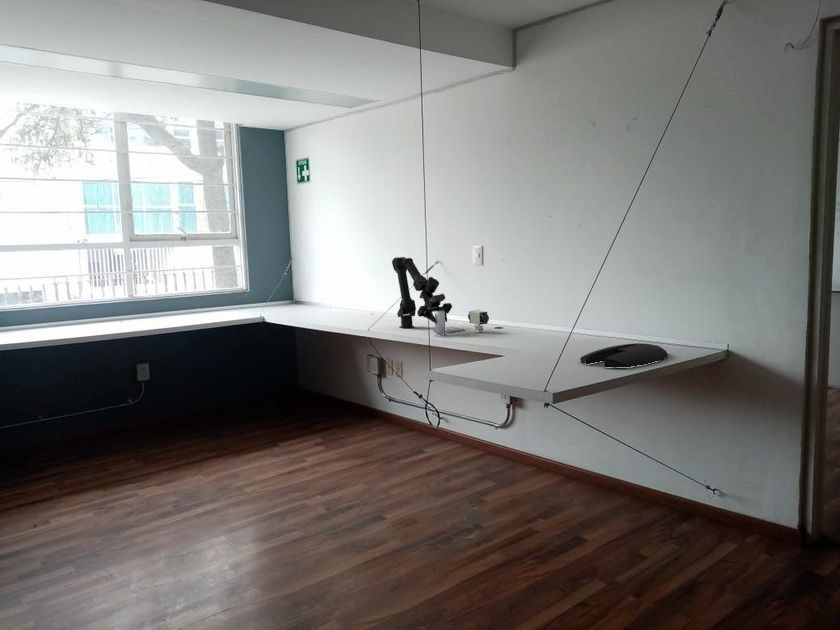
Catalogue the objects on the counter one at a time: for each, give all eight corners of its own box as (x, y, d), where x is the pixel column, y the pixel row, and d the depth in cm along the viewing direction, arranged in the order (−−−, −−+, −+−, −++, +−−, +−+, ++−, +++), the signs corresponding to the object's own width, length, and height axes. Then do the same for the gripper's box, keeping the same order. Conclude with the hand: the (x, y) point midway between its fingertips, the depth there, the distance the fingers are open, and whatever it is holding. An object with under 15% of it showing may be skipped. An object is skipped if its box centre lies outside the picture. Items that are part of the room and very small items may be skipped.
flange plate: (433, 331, 361) (433, 329, 361) (450, 328, 369) (450, 326, 369) (447, 333, 352) (447, 331, 352) (465, 330, 359) (465, 328, 359)
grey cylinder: (432, 334, 350) (431, 311, 348) (441, 333, 353) (440, 310, 352) (439, 335, 345) (438, 312, 343) (448, 334, 349) (447, 311, 347)
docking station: (683, 356, 274) (683, 344, 273) (624, 373, 249) (624, 359, 248) (629, 349, 293) (629, 337, 292) (569, 363, 268) (569, 351, 267)
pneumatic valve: (482, 334, 346) (482, 310, 344) (468, 331, 355) (467, 308, 354) (490, 332, 349) (490, 309, 347) (476, 330, 358) (475, 307, 357)
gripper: (419, 290, 345) (431, 313, 337) (449, 287, 354) (462, 310, 346) (411, 304, 352) (423, 327, 344) (442, 301, 362) (454, 324, 354)
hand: (441, 322), depth 347 cm, fingers open, 6 cm apart
